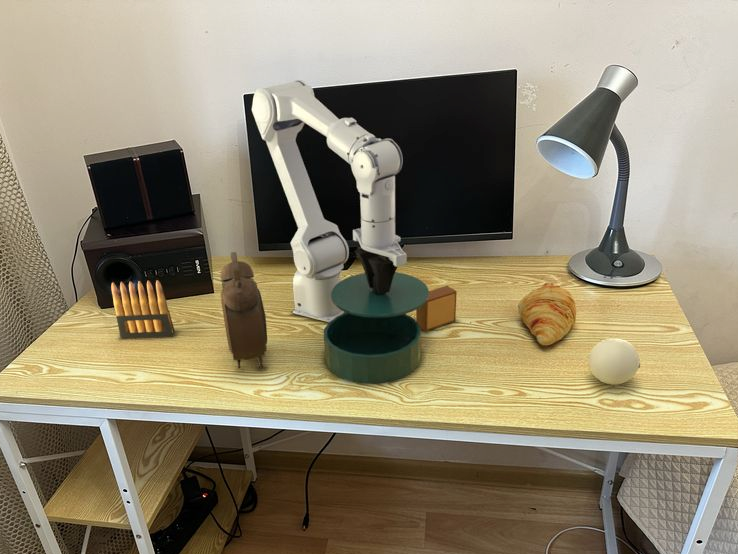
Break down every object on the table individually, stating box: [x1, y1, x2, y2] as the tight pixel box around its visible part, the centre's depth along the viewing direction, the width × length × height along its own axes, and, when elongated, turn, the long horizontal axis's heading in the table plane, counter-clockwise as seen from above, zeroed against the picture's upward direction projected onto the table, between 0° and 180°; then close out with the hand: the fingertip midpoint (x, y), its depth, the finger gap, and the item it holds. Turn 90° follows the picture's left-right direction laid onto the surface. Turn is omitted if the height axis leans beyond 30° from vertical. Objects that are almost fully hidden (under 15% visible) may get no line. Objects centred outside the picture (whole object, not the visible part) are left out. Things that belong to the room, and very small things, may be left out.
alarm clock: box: [219, 251, 268, 370], centre depth 112 cm, size 14×7×20 cm, turn 9°
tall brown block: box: [415, 285, 458, 332], centre depth 121 cm, size 3×7×6 cm, turn 116°
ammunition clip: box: [111, 279, 176, 340], centre depth 124 cm, size 11×2×12 cm, turn 86°
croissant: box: [517, 282, 577, 346], centre depth 118 cm, size 21×10×8 cm, turn 162°
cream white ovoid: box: [588, 337, 641, 386], centre depth 102 cm, size 10×7×7 cm
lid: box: [331, 271, 430, 318], centre depth 113 cm, size 17×17×4 cm
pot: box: [323, 312, 422, 384], centre depth 113 cm, size 17×17×5 cm
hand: (379, 289), depth 114 cm, fingers closed on lid, 2 cm apart
